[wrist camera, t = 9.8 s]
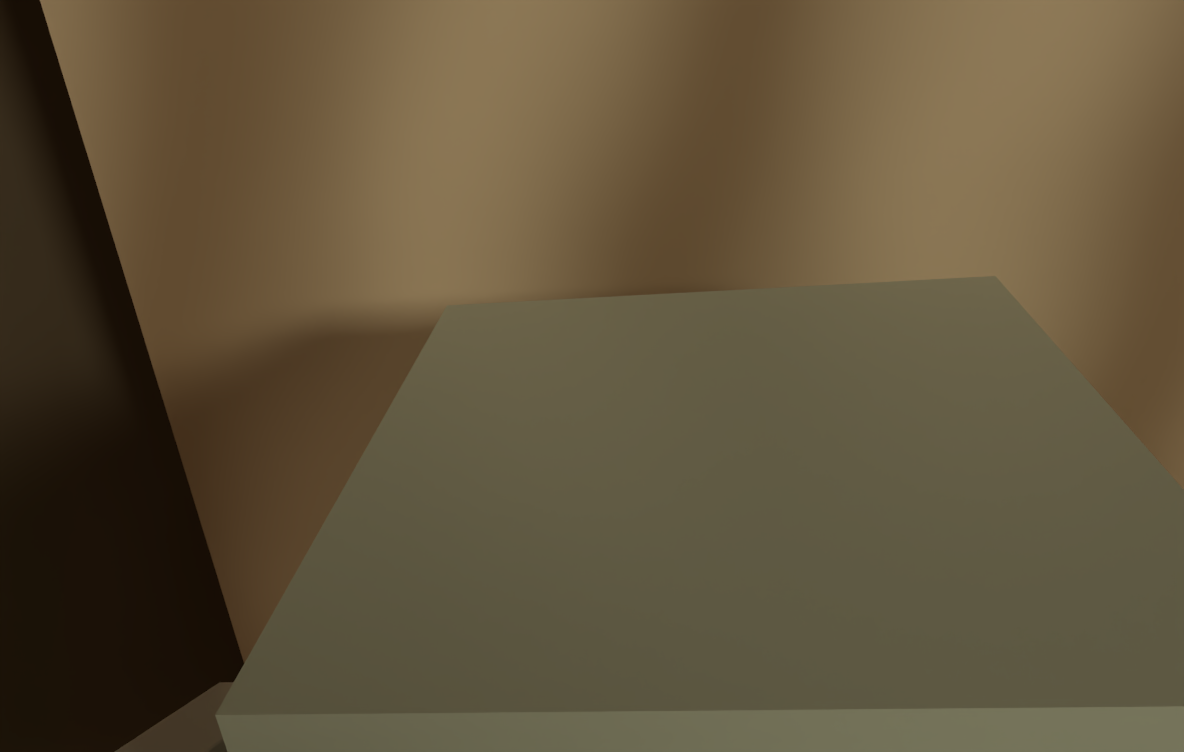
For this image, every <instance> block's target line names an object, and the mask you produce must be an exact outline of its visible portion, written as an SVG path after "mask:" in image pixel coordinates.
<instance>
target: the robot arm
mask: <svg viewBox="0 0 1184 752" xmlns="http://www.w3.org/2000/svg"><path fill="white" fill-rule="evenodd" d="M237 676H238V675H237ZM233 683H234V682H220V683H218V684H216V685H215V686H213V687H212V688H210V689H209V690H207V691H206V692H204V693H203V694H201V695H200V696H198V697H197V698H195V699H194V700H192V701H191V702H189V703H188V704H186V705H185V706H183V707H182V708H180V709H179V710H177V711H175V712H174V713H172V714H171V715H169V716H168V717H166V718H165V719H163V720H162V721H160V722H159V723H157V724H156V725H154V726H153V727H151V728H150V729H148V730H147V731H145V732H144V733H142V734H141V735H139V736H138V737H136V738H135V739H133V740H132V741H130V742H129V743H127V744H126V745H124V746H123V747H121V748H120V749H118V750H116V751H115V752H227V749H226V746H225V743H224V740H223V737H222V734H221V731H220V728H219V725H218V722H217V719H216V716H215V714H216V713H217V711H218V709H219V707H220V706H221V704H222V702H223V700H224V698H225V697H226V695H227V693H228V691H229V690H230V688H231V686H232V684H233Z"/></svg>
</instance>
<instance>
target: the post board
mask: <svg viewBox="0 0 1184 752" xmlns="http://www.w3.org/2000/svg"><path fill="white" fill-rule="evenodd" d="M40 2H41V6H42V9H43V12H44V15H45V19H46V22H47V25H48V28H49V32H50V35H51V38H52V41H53V45H54V48H55V51H56V54H57V58H58V61H59V64H60V67H61V70H62V74H63V77H64V80H65V83H66V87H67V90H68V93H69V96H70V100H71V103H72V106H73V109H74V113H75V116H76V119H77V122H78V126H79V129H80V132H81V135H82V139H83V142H84V145H85V148H86V152H87V155H88V158H89V161H90V165H91V168H92V171H93V174H94V178H95V181H96V184H97V187H98V191H99V194H100V197H101V200H102V204H103V207H104V210H105V213H106V217H107V220H108V223H109V226H110V230H111V233H112V236H113V239H114V243H115V246H116V249H117V252H118V256H119V259H120V262H121V265H122V269H123V272H124V275H125V278H126V282H127V285H128V288H129V291H130V295H131V298H132V301H133V304H134V308H135V311H136V314H137V317H138V321H139V324H140V327H141V330H142V333H143V337H144V340H145V343H146V346H147V350H148V353H149V356H150V359H151V363H152V366H153V369H154V372H155V376H156V379H157V382H158V385H159V389H160V392H161V395H162V398H163V402H164V405H165V408H166V411H167V415H168V418H169V421H170V424H171V428H172V431H173V434H174V437H175V441H176V444H177V447H178V450H179V454H180V457H181V460H182V463H183V467H184V470H185V473H186V476H187V480H188V483H189V486H190V489H191V493H192V496H193V499H194V502H195V506H196V509H197V512H198V515H199V519H200V522H201V525H202V528H203V532H204V535H205V538H206V541H207V545H208V548H209V551H210V554H211V558H212V561H213V564H214V567H215V571H216V574H217V577H218V580H219V584H220V587H221V590H222V593H223V596H224V600H225V603H226V606H227V609H228V613H229V616H230V619H231V622H232V626H233V629H234V632H235V635H236V639H237V642H238V645H239V648H240V652H241V655H242V658H243V661H244V663H245V661H246V660H247V658H248V656H249V654H250V653H251V651H252V649H253V647H254V645H255V644H256V642H257V640H258V638H259V637H260V635H261V633H262V631H263V630H264V628H265V626H266V624H267V623H268V621H269V619H270V617H271V615H272V614H273V612H274V610H275V608H276V607H277V605H278V603H279V601H280V600H281V598H282V596H283V594H284V593H285V591H286V589H287V587H288V585H289V584H290V582H291V580H292V578H293V577H294V575H295V573H296V571H297V570H298V568H299V566H300V564H301V562H302V561H303V559H304V557H305V555H306V554H307V552H308V550H309V548H310V547H311V545H312V543H313V541H314V540H315V538H316V536H317V534H318V532H319V531H320V529H321V527H322V525H323V524H324V522H325V520H326V518H327V517H328V515H329V513H330V511H331V509H332V508H333V506H334V504H335V502H336V501H337V499H338V497H339V495H340V494H341V492H342V490H343V488H344V487H345V485H346V483H347V481H348V479H349V478H350V476H351V474H352V472H353V471H354V469H355V467H356V465H357V464H358V462H359V460H360V458H361V457H362V455H363V453H364V451H365V449H366V448H367V446H368V444H369V442H370V441H371V439H372V437H373V435H374V434H375V432H376V430H377V428H378V426H379V425H380V423H381V421H382V419H383V418H384V416H385V414H386V412H387V411H388V409H389V407H390V405H391V404H392V402H393V400H394V398H395V396H396V395H397V393H398V391H399V389H400V388H401V386H402V384H403V382H404V381H405V379H406V377H407V375H408V374H409V372H410V370H411V368H412V366H413V365H414V363H415V361H416V359H417V358H418V356H419V354H420V352H421V351H422V349H423V347H424V345H425V343H426V342H427V340H428V338H429V336H430V335H431V333H432V331H433V329H434V328H435V326H436V324H437V322H438V321H439V319H440V317H441V315H442V313H443V312H444V310H445V308H446V306H447V305H463V304H482V303H501V302H519V301H538V300H556V299H575V298H594V297H612V296H631V295H650V294H668V293H687V292H706V291H724V290H743V289H762V288H780V287H799V286H818V285H836V284H855V283H874V282H892V281H911V280H930V279H948V278H967V277H986V276H996V277H997V278H998V280H999V281H1000V282H1001V283H1002V284H1003V285H1004V286H1005V287H1006V289H1007V290H1008V291H1009V292H1010V293H1011V294H1012V295H1013V297H1014V298H1015V299H1016V300H1017V301H1018V302H1019V303H1020V305H1021V306H1022V307H1023V308H1024V309H1025V310H1026V311H1027V312H1028V314H1029V315H1030V316H1031V317H1032V318H1033V319H1034V320H1035V322H1036V323H1037V324H1038V325H1039V326H1040V327H1041V328H1042V329H1043V331H1044V332H1045V333H1046V334H1047V335H1048V336H1049V337H1050V339H1051V340H1052V341H1053V342H1054V343H1055V344H1056V345H1057V347H1058V348H1059V349H1060V350H1061V351H1062V352H1063V353H1064V354H1065V356H1066V357H1067V358H1068V359H1069V360H1070V361H1071V362H1072V364H1073V365H1074V366H1075V367H1076V368H1077V369H1078V370H1079V371H1080V373H1081V374H1082V375H1083V376H1084V377H1085V378H1086V379H1087V381H1088V382H1089V383H1090V384H1091V385H1092V386H1093V387H1094V389H1095V390H1096V391H1097V392H1098V393H1099V394H1100V395H1101V396H1102V398H1103V399H1104V400H1105V401H1106V402H1107V403H1108V404H1109V406H1110V407H1111V408H1112V409H1113V410H1114V411H1115V412H1116V413H1117V415H1118V416H1119V417H1120V418H1121V419H1122V420H1123V421H1124V423H1125V424H1126V425H1127V426H1128V427H1129V428H1130V429H1131V431H1132V432H1133V433H1134V434H1135V435H1136V436H1137V437H1138V438H1139V440H1140V441H1141V442H1142V443H1143V444H1144V445H1145V446H1146V448H1147V449H1148V450H1149V451H1150V452H1151V453H1152V454H1153V455H1154V457H1155V458H1156V459H1157V460H1158V461H1159V462H1160V463H1161V465H1162V466H1163V467H1164V468H1165V469H1166V470H1167V471H1168V473H1169V474H1170V475H1171V476H1172V477H1173V478H1174V479H1175V480H1176V482H1177V483H1178V484H1179V485H1180V486H1181V487H1182V488H1183V490H1184V0H40Z"/></svg>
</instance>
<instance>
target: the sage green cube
mask: <svg viewBox="0 0 1184 752" xmlns="http://www.w3.org/2000/svg"><path fill="white" fill-rule="evenodd" d="M215 716H216V719H217V722H218V725H219V728H220V731H221V734H222V737H223V740H224V743H225V746H226V749H227V752H1184V490H1183V488H1182V487H1181V486H1180V485H1179V484H1178V483H1177V482H1176V480H1175V479H1174V478H1173V477H1172V476H1171V475H1170V474H1169V473H1168V471H1167V470H1166V469H1165V468H1164V467H1163V466H1162V465H1161V463H1160V462H1159V461H1158V460H1157V459H1156V458H1155V457H1154V455H1153V454H1152V453H1151V452H1150V451H1149V450H1148V449H1147V448H1146V446H1145V445H1144V444H1143V443H1142V442H1141V441H1140V440H1139V438H1138V437H1137V436H1136V435H1135V434H1134V433H1133V432H1132V431H1131V429H1130V428H1129V427H1128V426H1127V425H1126V424H1125V423H1124V421H1123V420H1122V419H1121V418H1120V417H1119V416H1118V415H1117V413H1116V412H1115V411H1114V410H1113V409H1112V408H1111V407H1110V406H1109V404H1108V403H1107V402H1106V401H1105V400H1104V399H1103V398H1102V396H1101V395H1100V394H1099V393H1098V392H1097V391H1096V390H1095V389H1094V387H1093V386H1092V385H1091V384H1090V383H1089V382H1088V381H1087V379H1086V378H1085V377H1084V376H1083V375H1082V374H1081V373H1080V371H1079V370H1078V369H1077V368H1076V367H1075V366H1074V365H1073V364H1072V362H1071V361H1070V360H1069V359H1068V358H1067V357H1066V356H1065V354H1064V353H1063V352H1062V351H1061V350H1060V349H1059V348H1058V347H1057V345H1056V344H1055V343H1054V342H1053V341H1052V340H1051V339H1050V337H1049V336H1048V335H1047V334H1046V333H1045V332H1044V331H1043V329H1042V328H1041V327H1040V326H1039V325H1038V324H1037V323H1036V322H1035V320H1034V319H1033V318H1032V317H1031V316H1030V315H1029V314H1028V312H1027V311H1026V310H1025V309H1024V308H1023V307H1022V306H1021V305H1020V303H1019V302H1018V301H1017V300H1016V299H1015V298H1014V297H1013V295H1012V294H1011V293H1010V292H1009V291H1008V290H1007V289H1006V287H1005V286H1004V285H1003V284H1002V283H1001V282H1000V281H999V280H998V278H997V277H996V276H986V277H967V278H948V279H930V280H911V281H892V282H874V283H855V284H836V285H818V286H799V287H780V288H762V289H743V290H724V291H706V292H687V293H668V294H650V295H631V296H612V297H594V298H575V299H556V300H538V301H519V302H501V303H482V304H463V305H447V306H446V308H445V310H444V312H443V313H442V315H441V317H440V319H439V321H438V322H437V324H436V326H435V328H434V329H433V331H432V333H431V335H430V336H429V338H428V340H427V342H426V343H425V345H424V347H423V349H422V351H421V352H420V354H419V356H418V358H417V359H416V361H415V363H414V365H413V366H412V368H411V370H410V372H409V374H408V375H407V377H406V379H405V381H404V382H403V384H402V386H401V388H400V389H399V391H398V393H397V395H396V396H395V398H394V400H393V402H392V404H391V405H390V407H389V409H388V411H387V412H386V414H385V416H384V418H383V419H382V421H381V423H380V425H379V426H378V428H377V430H376V432H375V434H374V435H373V437H372V439H371V441H370V442H369V444H368V446H367V448H366V449H365V451H364V453H363V455H362V457H361V458H360V460H359V462H358V464H357V465H356V467H355V469H354V471H353V472H352V474H351V476H350V478H349V479H348V481H347V483H346V485H345V487H344V488H343V490H342V492H341V494H340V495H339V497H338V499H337V501H336V502H335V504H334V506H333V508H332V509H331V511H330V513H329V515H328V517H327V518H326V520H325V522H324V524H323V525H322V527H321V529H320V531H319V532H318V534H317V536H316V538H315V540H314V541H313V543H312V545H311V547H310V548H309V550H308V552H307V554H306V555H305V557H304V559H303V561H302V562H301V564H300V566H299V568H298V570H297V571H296V573H295V575H294V577H293V578H292V580H291V582H290V584H289V585H288V587H287V589H286V591H285V593H284V594H283V596H282V598H281V600H280V601H279V603H278V605H277V607H276V608H275V610H274V612H273V614H272V615H271V617H270V619H269V621H268V623H267V624H266V626H265V628H264V630H263V631H262V633H261V635H260V637H259V638H258V640H257V642H256V644H255V645H254V647H253V649H252V651H251V653H250V654H249V656H248V658H247V660H246V661H245V663H244V665H243V667H242V668H241V670H240V672H239V674H238V676H237V677H236V679H235V681H234V683H233V684H232V686H231V688H230V690H229V691H228V693H227V695H226V697H225V698H224V700H223V702H222V704H221V706H220V707H219V709H218V711H217V713H216V714H215Z"/></svg>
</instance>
